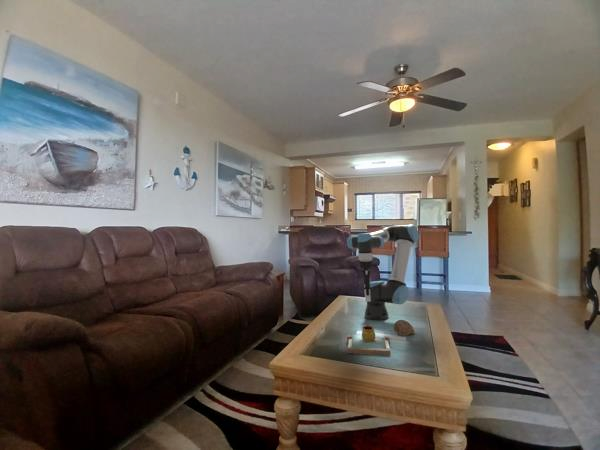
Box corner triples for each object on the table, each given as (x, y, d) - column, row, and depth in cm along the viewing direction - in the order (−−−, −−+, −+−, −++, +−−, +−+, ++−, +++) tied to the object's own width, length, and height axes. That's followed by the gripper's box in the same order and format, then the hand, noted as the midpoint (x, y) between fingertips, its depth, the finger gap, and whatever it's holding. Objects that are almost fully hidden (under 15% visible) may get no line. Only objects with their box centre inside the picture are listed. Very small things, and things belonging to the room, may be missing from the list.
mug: (376, 342, 151) (376, 329, 152) (362, 342, 152) (362, 329, 152) (373, 334, 163) (372, 322, 164) (360, 335, 164) (359, 322, 164)
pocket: (347, 341, 154) (347, 335, 154) (389, 343, 150) (389, 336, 150) (345, 353, 139) (345, 346, 139) (392, 355, 135) (392, 348, 135)
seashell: (418, 335, 156) (407, 319, 158) (403, 344, 158) (392, 328, 159) (414, 329, 167) (403, 313, 168) (400, 337, 168) (390, 322, 169)
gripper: (358, 258, 182) (360, 293, 182) (359, 263, 158) (361, 303, 157) (371, 258, 181) (373, 293, 180) (373, 262, 156) (375, 303, 156)
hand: (367, 298), depth 169 cm, fingers open, 13 cm apart
